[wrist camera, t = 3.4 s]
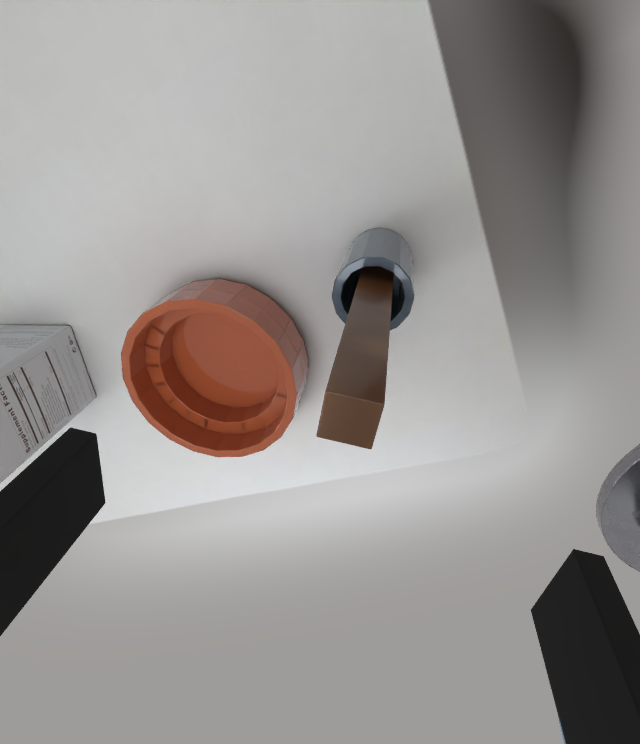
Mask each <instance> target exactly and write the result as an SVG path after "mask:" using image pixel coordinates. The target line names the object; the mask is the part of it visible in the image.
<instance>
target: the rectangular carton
mask: <svg viewBox="0 0 640 744" xmlns="http://www.w3.org/2000/svg"><path fill="white" fill-rule="evenodd" d="M95 398H96V395H95V392H94V390H93V387H92V384H91V381H90V379H89V376H88V373H87V370H86V367H85V365H84V362H83V359H82V357H81V354H80V351H79V348H78V346H77V343H76V340H75V338H74V335H73V332H72V329H71V327H70V326H47V325H0V483H1V482H2V481H4V480H5V479H6V478H7V477H8V476H9V475H10V474H11V473H12V472H13V471H15V470H16V469H17V468H18V467H19V466H20V465H21V464H22V463H24V462H25V461H26V460H27V459H28V458H29V457H30V456H31V455H33V454H34V453H35V452H36V451H37V450H38V449H39V448H40V447H41V446H43V445H44V444H45V443H46V442H47V441H48V440H49V439H50V438H51V437H53V436H54V435H55V434H56V433H57V432H58V431H59V430H60V429H62V428H63V427H64V426H65V425H66V424H67V423H68V422H69V421H71V420H72V419H73V418H74V417H75V416H76V415H77V414H78V413H79V412H81V411H82V410H83V409H84V408H85V407H86V406H87V405H88V404H89V403H91V402H92V401H93V400H94V399H95Z"/></svg>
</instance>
